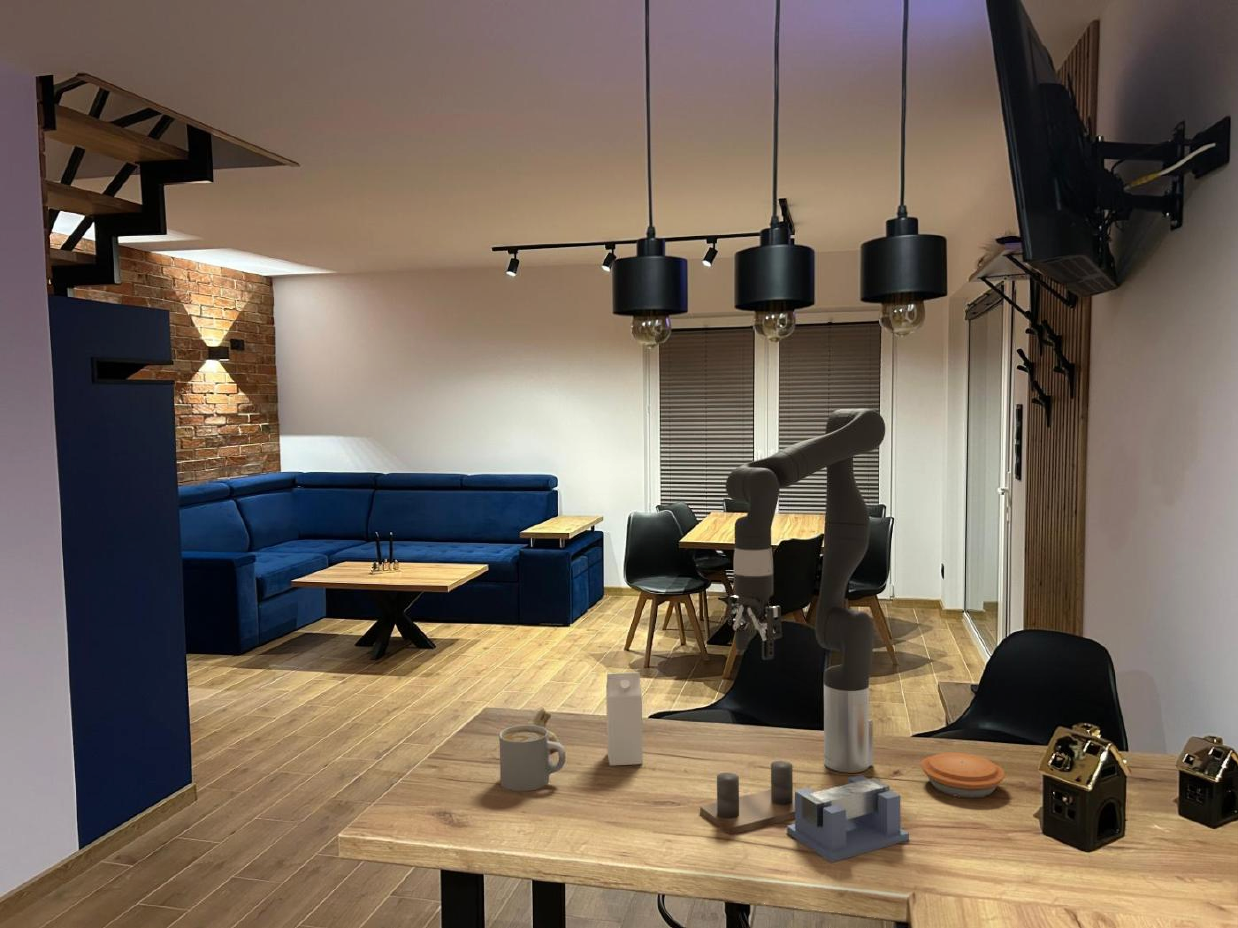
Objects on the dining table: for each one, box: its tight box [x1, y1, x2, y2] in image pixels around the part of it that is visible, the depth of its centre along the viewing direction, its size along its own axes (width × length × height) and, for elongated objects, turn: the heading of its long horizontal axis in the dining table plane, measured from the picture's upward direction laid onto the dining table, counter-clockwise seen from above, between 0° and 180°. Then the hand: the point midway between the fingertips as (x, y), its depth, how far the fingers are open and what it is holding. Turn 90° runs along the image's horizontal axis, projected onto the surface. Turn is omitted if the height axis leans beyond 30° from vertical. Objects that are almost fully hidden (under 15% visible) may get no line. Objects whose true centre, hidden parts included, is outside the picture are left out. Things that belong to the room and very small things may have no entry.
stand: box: [699, 760, 795, 836], centre depth 163 cm, size 18×10×8 cm, turn 116°
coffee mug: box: [499, 724, 566, 792], centre depth 179 cm, size 13×10×10 cm
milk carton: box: [605, 671, 644, 766], centre depth 190 cm, size 7×7×19 cm
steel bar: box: [802, 777, 891, 827], centre depth 154 cm, size 16×4×4 cm, turn 116°
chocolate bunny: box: [526, 707, 561, 754], centre depth 196 cm, size 6×8×10 cm
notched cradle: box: [786, 774, 910, 863], centre depth 154 cm, size 17×12×8 cm
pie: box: [920, 752, 1006, 799], centre depth 174 cm, size 15×16×5 cm
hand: (754, 653), depth 170 cm, fingers open, 8 cm apart
